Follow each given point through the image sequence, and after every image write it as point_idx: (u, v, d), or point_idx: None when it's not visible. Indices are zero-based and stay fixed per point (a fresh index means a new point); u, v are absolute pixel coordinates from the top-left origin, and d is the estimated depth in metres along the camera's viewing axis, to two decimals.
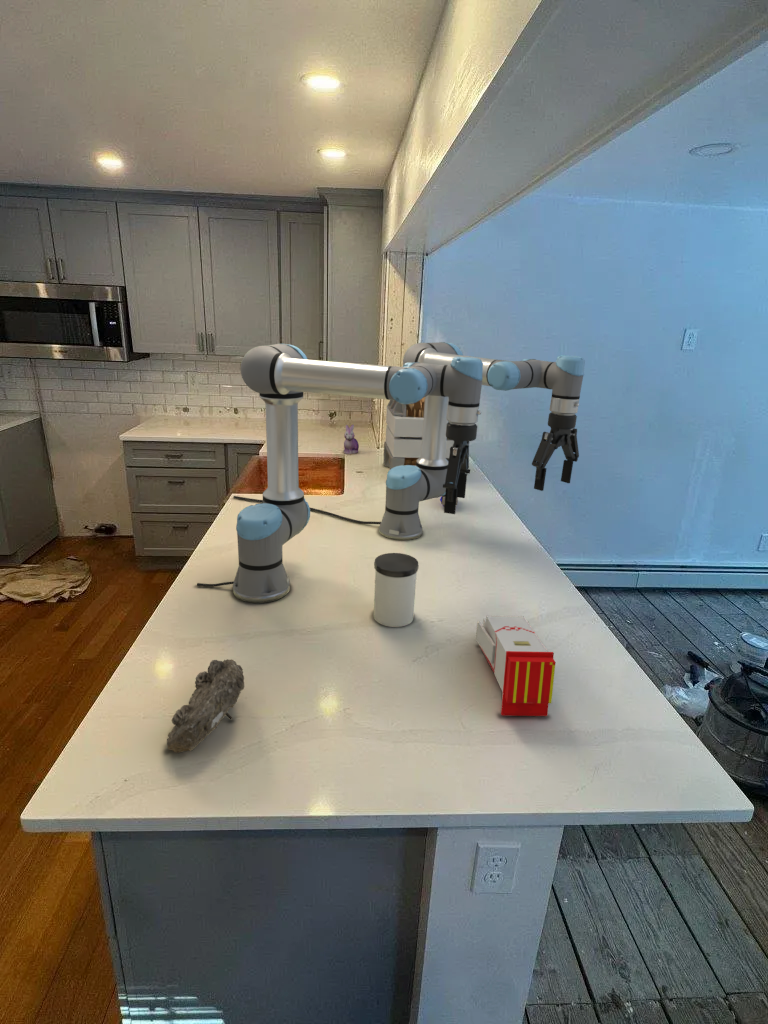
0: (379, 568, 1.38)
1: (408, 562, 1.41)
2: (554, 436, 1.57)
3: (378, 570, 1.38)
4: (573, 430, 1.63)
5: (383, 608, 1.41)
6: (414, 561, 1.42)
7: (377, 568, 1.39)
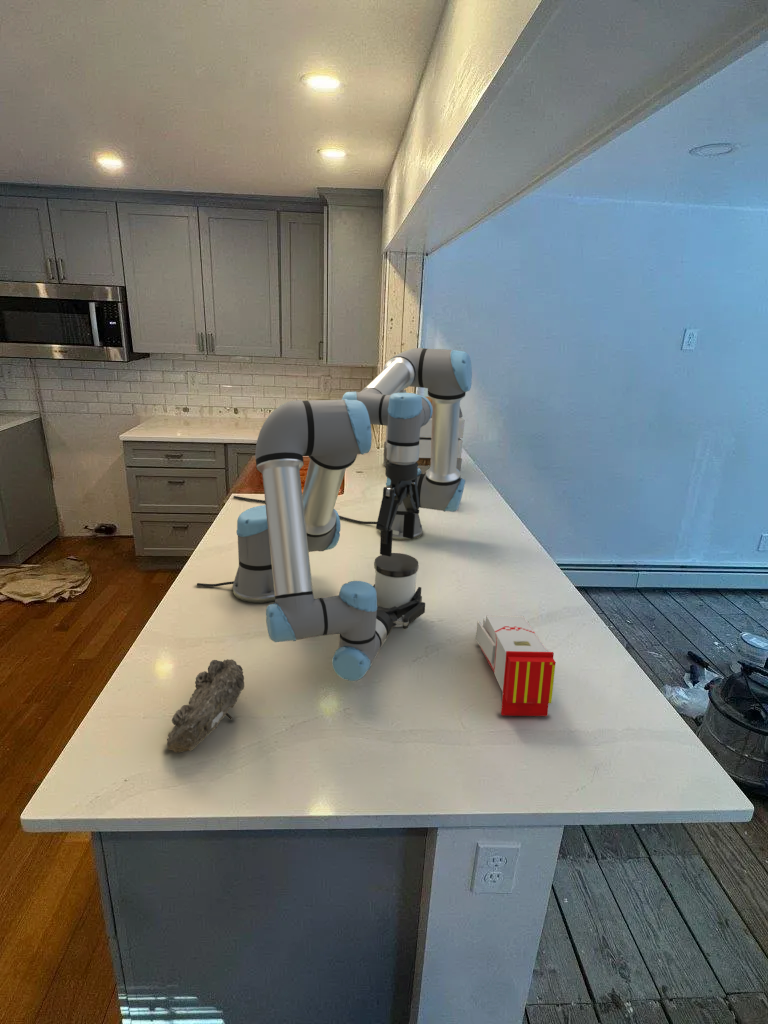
0: (379, 568, 1.38)
1: (408, 562, 1.41)
2: None
3: (378, 570, 1.38)
4: None
5: None
6: (414, 561, 1.42)
7: (377, 568, 1.39)
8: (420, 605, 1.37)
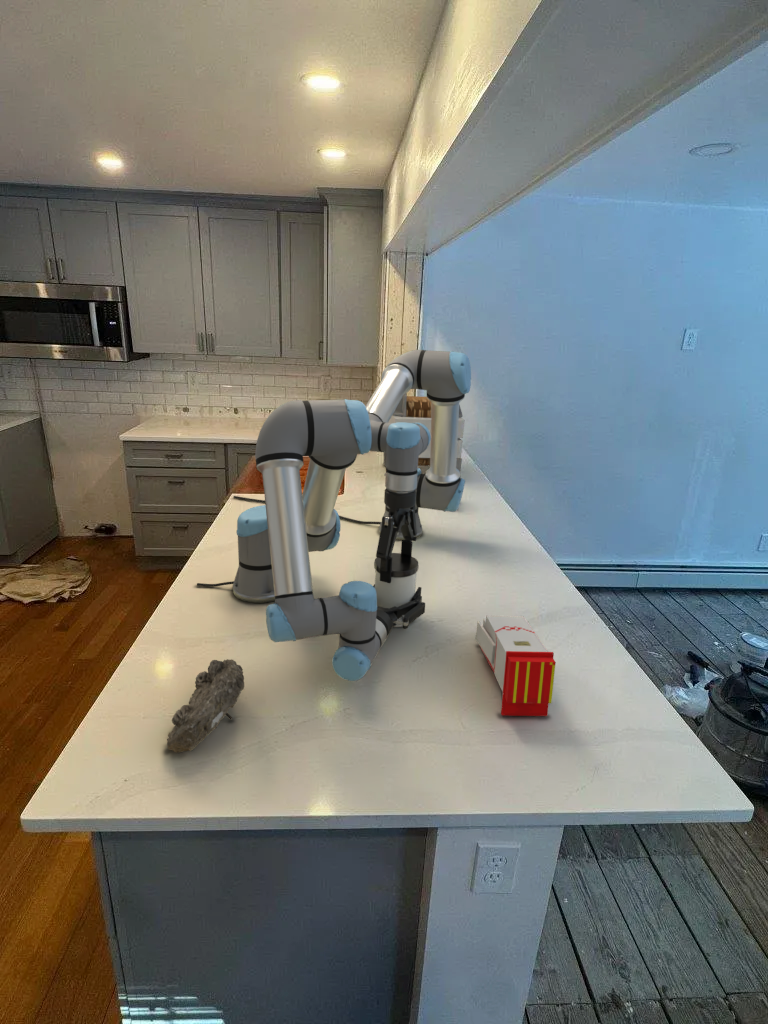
0: (379, 568, 1.38)
1: (408, 562, 1.41)
2: None
3: (378, 570, 1.38)
4: None
5: None
6: (414, 561, 1.42)
7: (377, 568, 1.39)
8: (420, 605, 1.37)
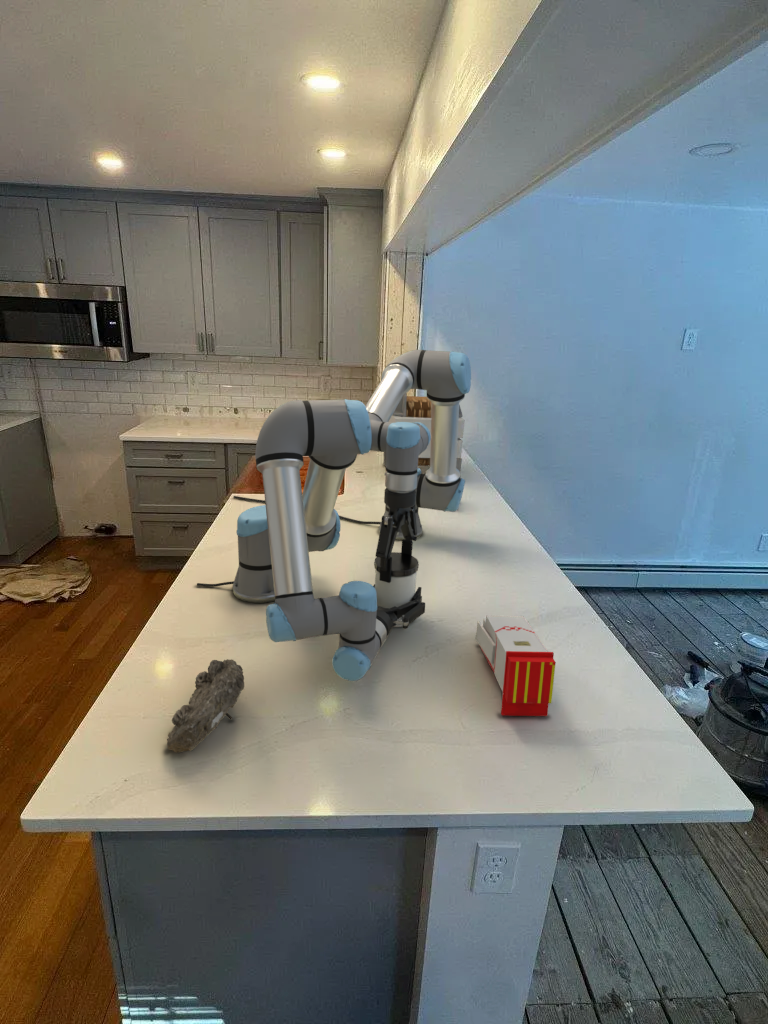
0: (418, 564, 1.41)
1: None
2: None
3: (417, 567, 1.40)
4: None
5: None
6: None
7: (417, 567, 1.40)
8: (420, 605, 1.37)
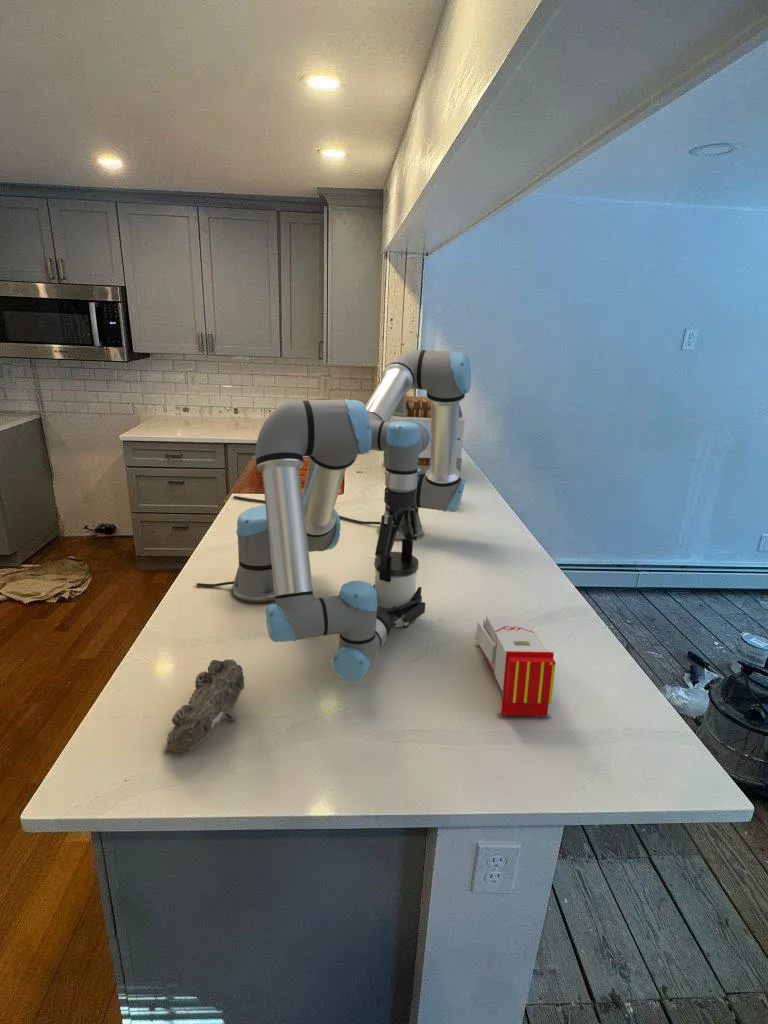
0: None
1: (396, 565, 1.38)
2: None
3: None
4: None
5: None
6: (398, 568, 1.37)
7: None
8: (420, 605, 1.37)
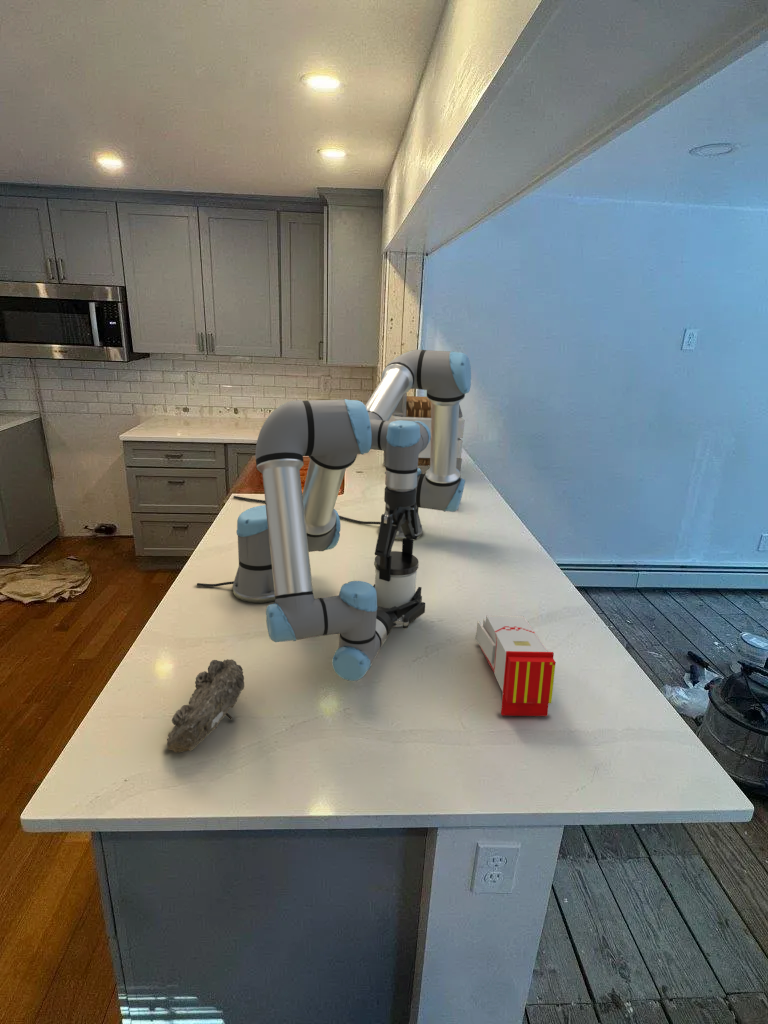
0: (393, 570, 1.36)
1: (405, 557, 1.43)
2: None
3: (392, 573, 1.36)
4: None
5: None
6: (407, 554, 1.44)
7: None
8: (420, 605, 1.37)
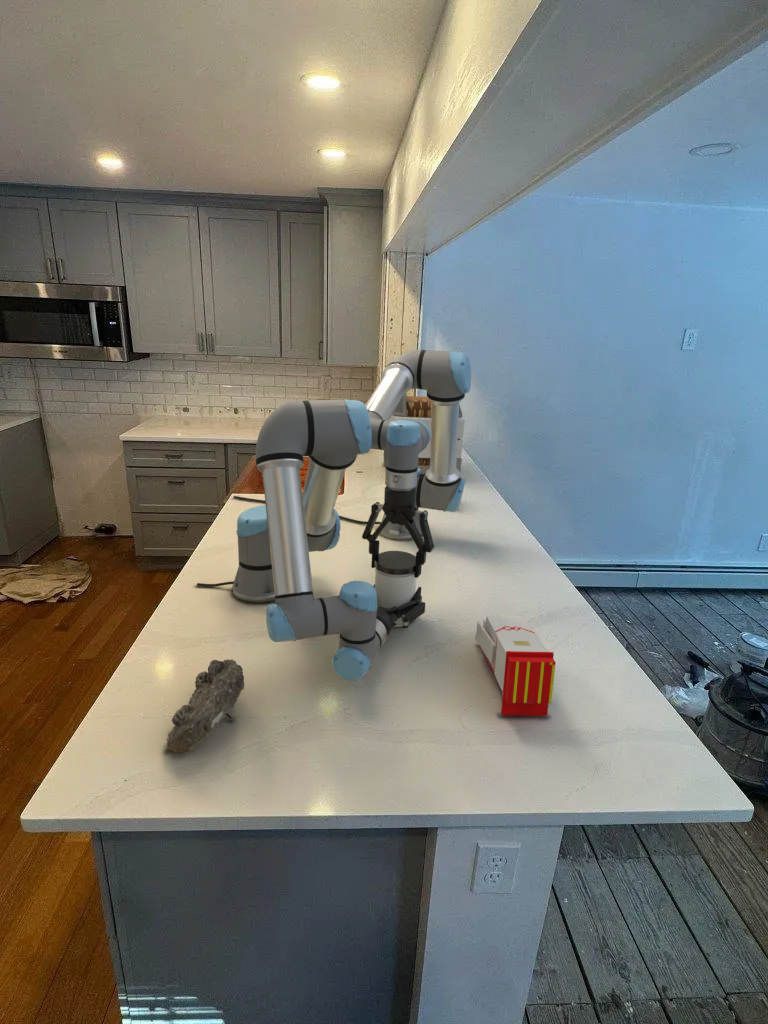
0: None
1: (387, 555, 1.43)
2: (382, 508, 1.37)
3: None
4: (420, 514, 1.34)
5: None
6: (381, 554, 1.43)
7: None
8: (420, 605, 1.37)
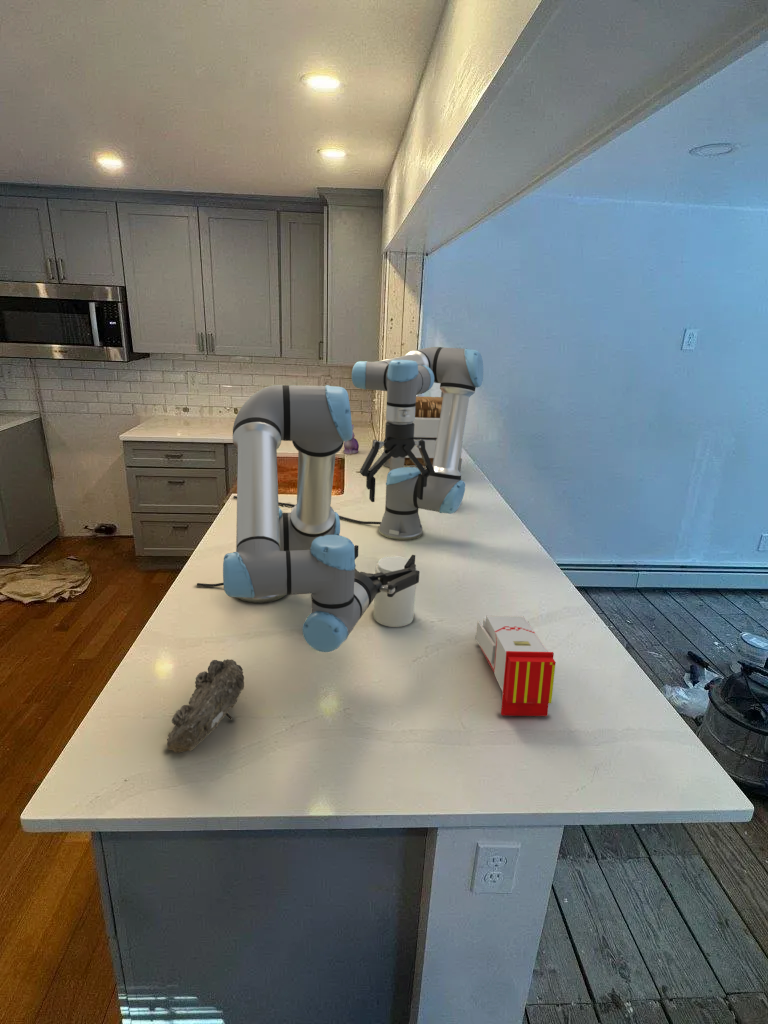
0: None
1: None
2: (385, 445, 1.47)
3: None
4: (420, 442, 1.50)
5: (383, 608, 1.41)
6: None
7: None
8: (413, 573, 1.19)
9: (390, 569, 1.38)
